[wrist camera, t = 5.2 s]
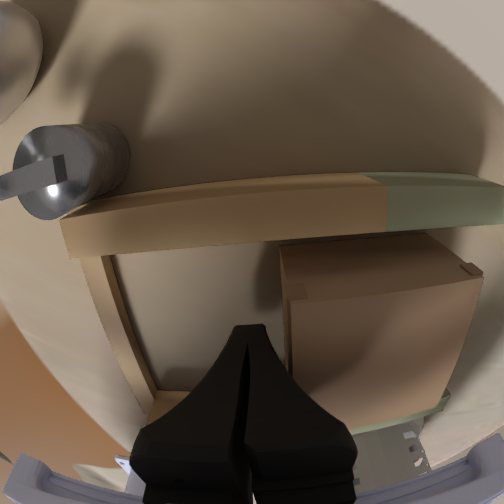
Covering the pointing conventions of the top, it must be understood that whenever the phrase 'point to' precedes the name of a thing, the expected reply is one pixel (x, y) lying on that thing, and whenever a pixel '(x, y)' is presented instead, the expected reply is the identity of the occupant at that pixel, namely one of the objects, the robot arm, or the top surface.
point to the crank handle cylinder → (66, 167)
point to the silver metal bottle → (17, 56)
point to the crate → (375, 323)
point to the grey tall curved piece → (388, 455)
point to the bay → (258, 235)
